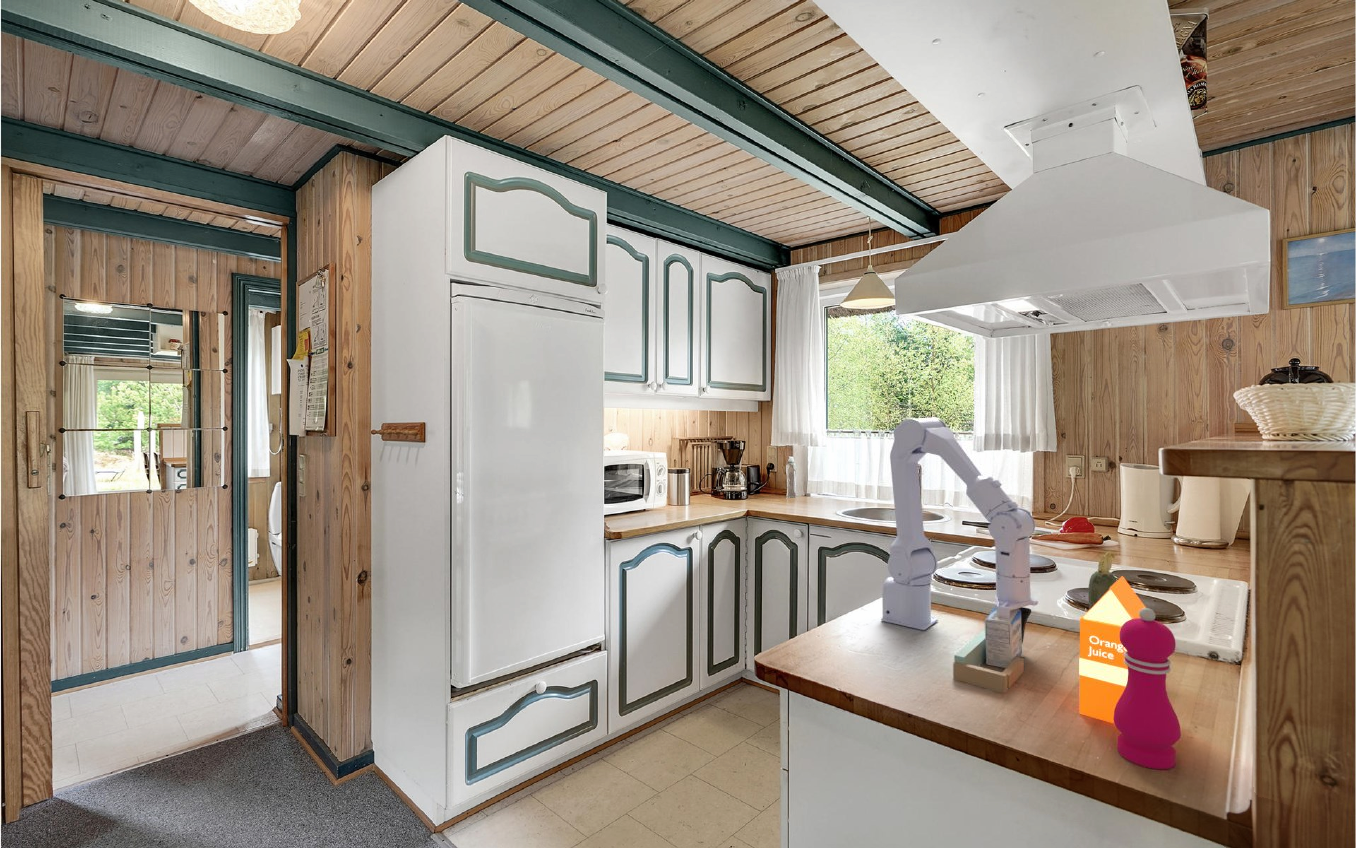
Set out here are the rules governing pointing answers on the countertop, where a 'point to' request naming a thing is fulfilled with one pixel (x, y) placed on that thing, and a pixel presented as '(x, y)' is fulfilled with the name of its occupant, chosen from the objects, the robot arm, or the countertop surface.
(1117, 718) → the pepper mill
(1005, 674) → the board
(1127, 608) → the orange juice
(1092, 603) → the vegetable
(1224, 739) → the countertop surface
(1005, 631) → the medicine box
